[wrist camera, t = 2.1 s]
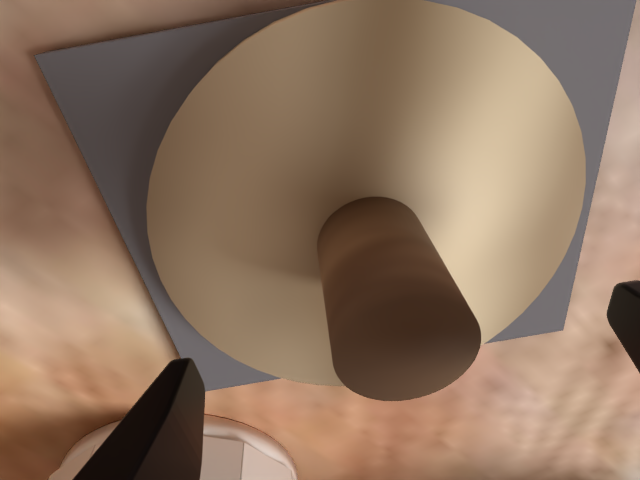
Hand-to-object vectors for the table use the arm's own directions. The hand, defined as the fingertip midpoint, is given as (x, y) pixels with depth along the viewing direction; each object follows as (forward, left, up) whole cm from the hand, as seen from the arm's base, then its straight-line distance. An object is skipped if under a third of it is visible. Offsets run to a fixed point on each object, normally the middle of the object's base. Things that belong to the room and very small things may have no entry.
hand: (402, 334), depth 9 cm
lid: (0, 0, -4) cm, 4 cm away
